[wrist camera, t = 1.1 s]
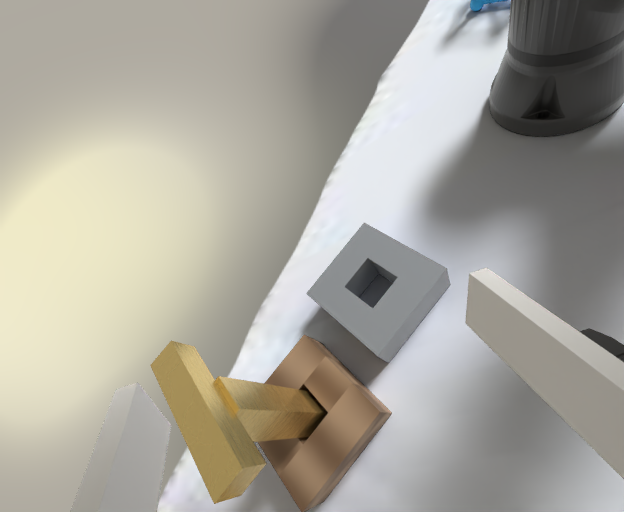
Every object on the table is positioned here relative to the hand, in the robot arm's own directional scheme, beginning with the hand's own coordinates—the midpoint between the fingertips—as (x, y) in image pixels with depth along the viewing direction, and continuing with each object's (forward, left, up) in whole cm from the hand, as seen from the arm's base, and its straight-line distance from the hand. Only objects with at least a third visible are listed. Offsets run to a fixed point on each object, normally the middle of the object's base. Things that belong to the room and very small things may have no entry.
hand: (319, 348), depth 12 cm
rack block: (0, -12, -27) cm, 30 cm away
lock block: (+12, -1, -27) cm, 30 cm away
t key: (+12, -1, -27) cm, 30 cm away
